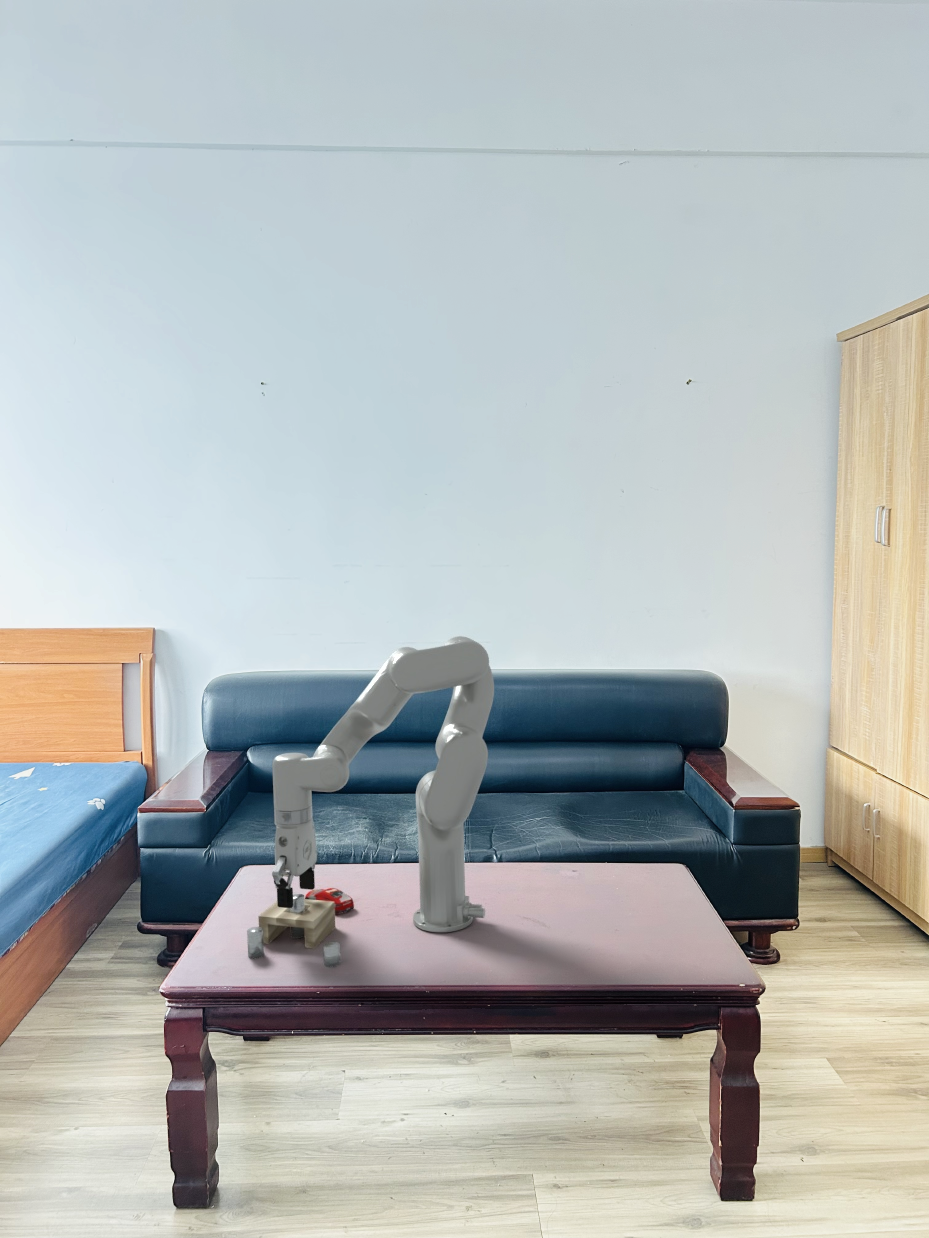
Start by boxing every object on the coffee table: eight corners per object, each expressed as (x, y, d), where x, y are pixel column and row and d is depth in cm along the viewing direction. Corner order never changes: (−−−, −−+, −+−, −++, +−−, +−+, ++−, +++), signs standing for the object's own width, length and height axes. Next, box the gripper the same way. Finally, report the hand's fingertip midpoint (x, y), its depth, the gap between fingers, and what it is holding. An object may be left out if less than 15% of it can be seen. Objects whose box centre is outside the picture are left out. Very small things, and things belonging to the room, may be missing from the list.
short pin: (342, 960, 165) (342, 942, 165) (336, 967, 162) (335, 949, 162) (328, 959, 166) (327, 941, 165) (321, 966, 163) (320, 948, 163)
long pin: (308, 932, 178) (306, 894, 177) (301, 938, 175) (300, 900, 174) (294, 931, 179) (293, 893, 178) (288, 937, 176) (286, 898, 175)
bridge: (335, 927, 180) (334, 901, 179) (314, 948, 170) (313, 921, 170) (282, 922, 183) (281, 896, 183) (259, 942, 173) (258, 915, 173)
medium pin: (266, 952, 169) (265, 927, 169) (259, 959, 166) (258, 933, 166) (253, 950, 170) (251, 926, 170) (245, 957, 167) (244, 932, 167)
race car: (300, 903, 194) (299, 886, 193) (320, 896, 198) (319, 879, 197) (338, 918, 185) (337, 900, 184) (357, 910, 189) (356, 892, 188)
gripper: (290, 829, 166) (294, 916, 167) (328, 804, 182) (331, 883, 183) (255, 827, 168) (259, 913, 169) (295, 802, 184) (299, 880, 185)
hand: (296, 897), depth 176 cm, fingers open, 9 cm apart
